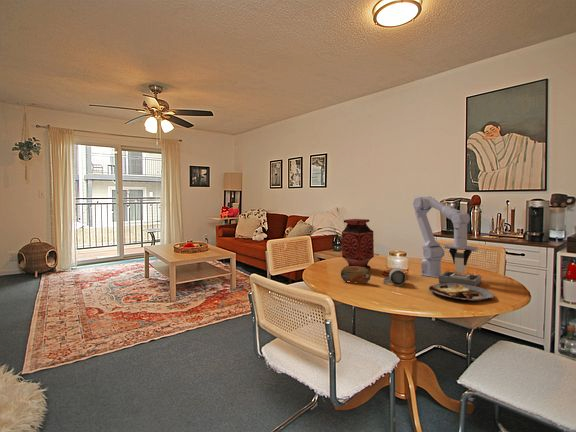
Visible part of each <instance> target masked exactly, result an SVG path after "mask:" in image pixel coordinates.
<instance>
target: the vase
mask: <svg viewBox="0 0 576 432" xmlns="http://www.w3.org/2000/svg"><path fill="white" fill-rule="evenodd" d="M369 222H371V221H370V219H365V218H363V219H362V218H352V219H351V218H348V219H344V220H343V223H345V224H346V226H345V228H344V229H343V230H342V231H341V254H342V256H341V257H342V258H343V259H344V260H345V261H346V262H347V264H348V265H345V267H347V266H355V267H365V268H367V269H368V270H371V268H372V267H371V266H370V265H369V264H368V263H369V262H370V260H372V259H373V258H374V257H375V256H374V254H375V253H374V252H375V251H374V250H375V249H374V247H375V245H374V243H375V242H374V241H375V240H374V230H372V229H371V228H370V227H369V226H368V224H367V223H369Z"/></svg>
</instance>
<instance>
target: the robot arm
mask: <svg viewBox="0 0 576 432" xmlns="http://www.w3.org/2000/svg"><path fill="white" fill-rule="evenodd" d="M412 206H413V209H414V215H415V217H416V221H417V224H418V227H419V229H420V232H421V236H422V239H423V242H424V244H423V246H422V254H423V257H424V258H422V260H421V265H420V266H421V271H420V273H421V274H420V275H421V276H426V277H431V278H436V279H437V278H438V279H439V275H441V274H442V260H443V258H444V256H445V250H447V249H449V250H448V252H449V254H450V256H451V258H452V261H453V264H454V265H455V253H457V252H458V250H459V251H463V253H464V265H466V266H467V264H468V260H469V258H470V256H471V254H472V252H478V246H472V245H468V224H469V223H470V222H471V216H470V214H469V213H468V212H461V210H459V209H456V208H455V207H454V206H453V205H444V204H443V203H441V202H440V201H438V200H437V199H436V198H434V197H432V196H416V197H415V198H414V199H413V202H412ZM432 209H435V210H437V211H439V212H440V213H442V214H441V215H442V216H443V217H445V218H447V219H448V220H451V222H452V225H453V226H452V227H453V244H444V245H443V247H442V245H441V244H440V243H439V242H438V241H437V240H436V238H435V235H434V232H433V230H432V227H431V224H430V221H429V219H428V215H427V214H428V213H429V212H430V210H432Z"/></svg>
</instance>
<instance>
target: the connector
mask: <svg viewBox="0 0 576 432" xmlns="http://www.w3.org/2000/svg"><path fill="white" fill-rule="evenodd" d="M466 268H467V265H464V252H458V251H457V253H455V264H454V272H456V273H463V274H465V272H466V271H467V269H466Z"/></svg>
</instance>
